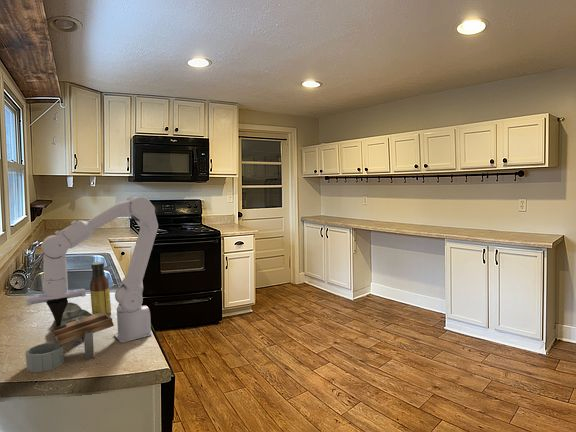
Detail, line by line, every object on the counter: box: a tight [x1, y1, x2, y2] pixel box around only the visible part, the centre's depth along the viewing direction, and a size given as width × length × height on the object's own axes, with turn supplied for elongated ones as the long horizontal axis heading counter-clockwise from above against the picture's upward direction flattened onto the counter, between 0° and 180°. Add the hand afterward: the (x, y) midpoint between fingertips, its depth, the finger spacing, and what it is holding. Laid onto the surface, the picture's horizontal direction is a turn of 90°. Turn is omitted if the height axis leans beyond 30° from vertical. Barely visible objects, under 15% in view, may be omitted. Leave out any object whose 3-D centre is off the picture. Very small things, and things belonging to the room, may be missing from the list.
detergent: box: [50, 301, 93, 329], centre depth 132 cm, size 13×7×25 cm
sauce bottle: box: [89, 261, 112, 317], centre depth 142 cm, size 6×6×20 cm
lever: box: [49, 312, 115, 345], centre depth 114 cm, size 14×13×2 cm
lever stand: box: [72, 318, 95, 362], centre depth 114 cm, size 2×16×8 cm, turn 40°
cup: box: [25, 341, 64, 373], centre depth 106 cm, size 8×8×4 cm
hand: (58, 325), depth 113 cm, fingers closed, pressing on lever
